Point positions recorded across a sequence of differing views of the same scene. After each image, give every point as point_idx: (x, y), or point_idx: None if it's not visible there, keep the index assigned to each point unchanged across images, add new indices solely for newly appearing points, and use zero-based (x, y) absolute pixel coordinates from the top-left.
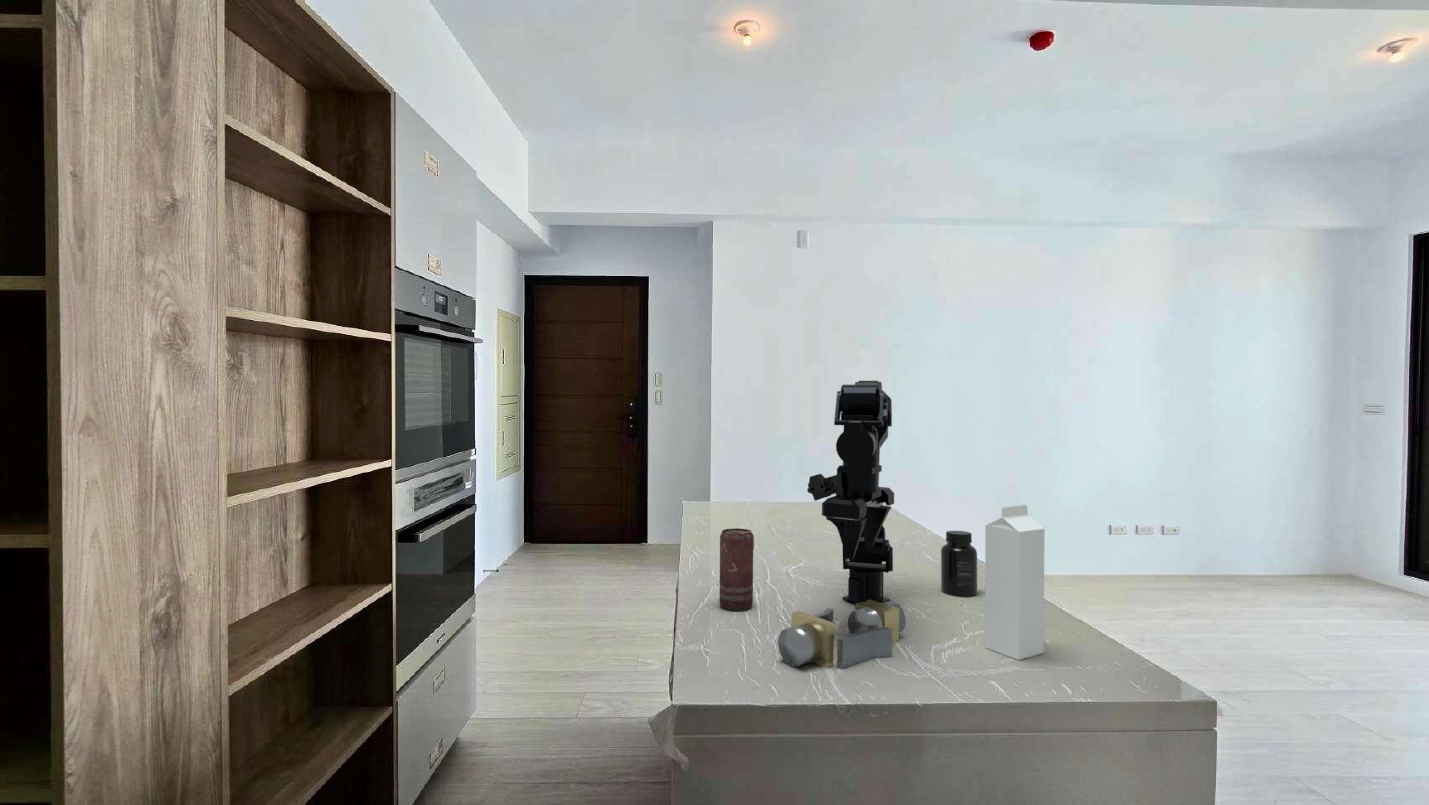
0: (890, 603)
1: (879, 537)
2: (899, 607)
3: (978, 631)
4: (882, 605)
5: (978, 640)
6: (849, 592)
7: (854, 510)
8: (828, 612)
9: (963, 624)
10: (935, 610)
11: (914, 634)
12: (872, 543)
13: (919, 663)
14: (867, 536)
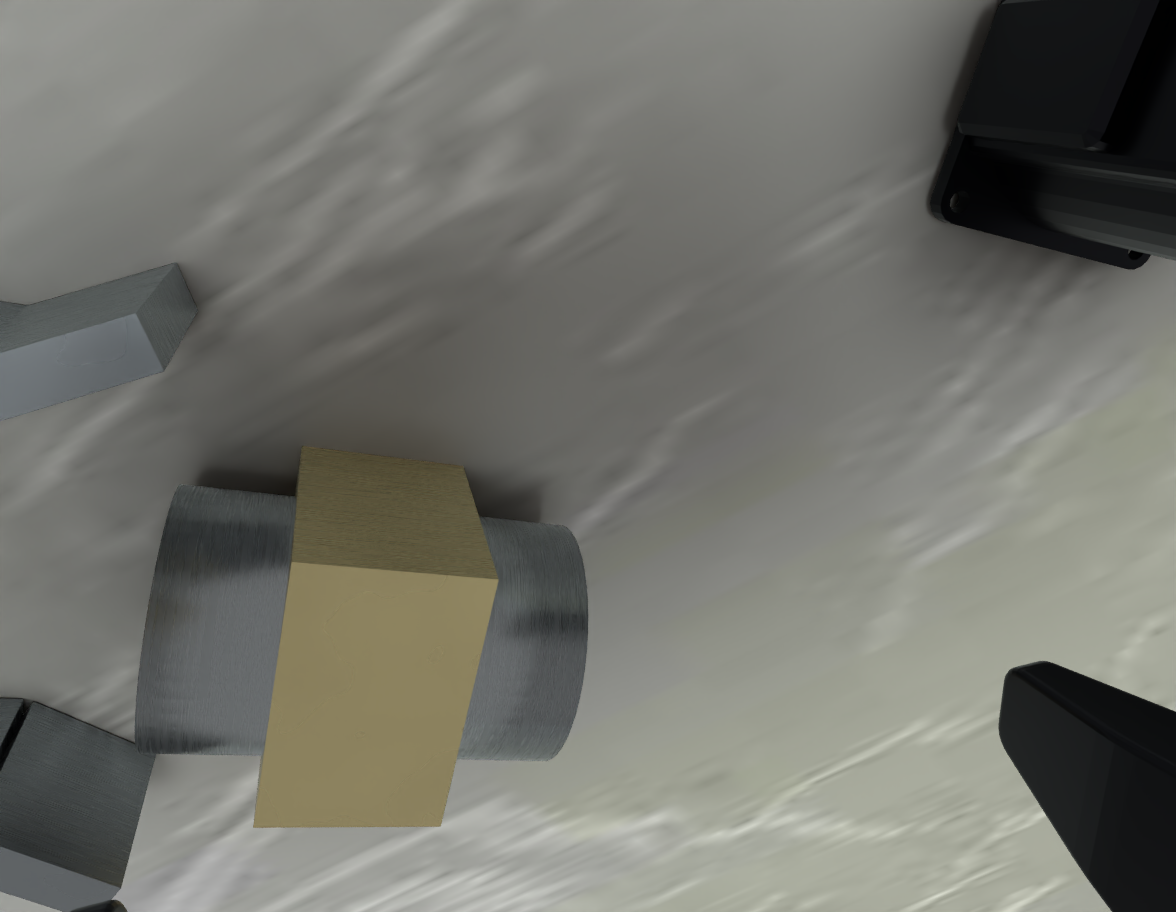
0: (520, 726)
1: None
2: (538, 758)
3: (835, 824)
4: (415, 726)
5: (706, 881)
6: (1037, 14)
7: None
8: (16, 403)
9: (903, 739)
10: (1074, 542)
11: (591, 670)
12: (1048, 806)
13: (171, 898)
14: (1150, 822)
